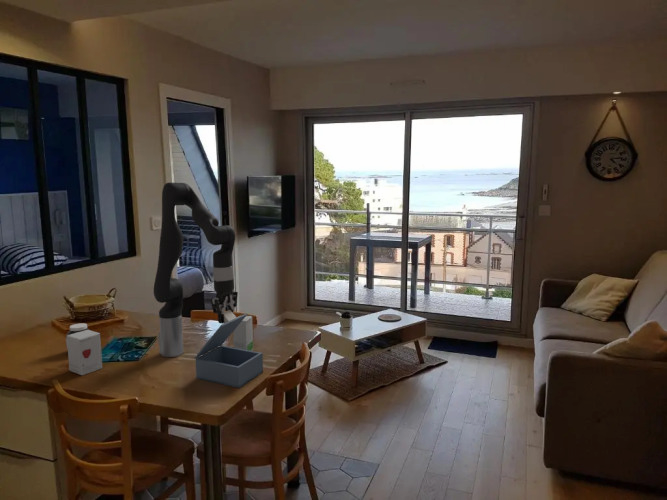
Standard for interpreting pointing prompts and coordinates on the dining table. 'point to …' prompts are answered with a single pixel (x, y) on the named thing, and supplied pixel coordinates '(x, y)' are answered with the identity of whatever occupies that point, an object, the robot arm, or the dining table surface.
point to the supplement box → (84, 352)
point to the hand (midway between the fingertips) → (226, 320)
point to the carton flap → (222, 332)
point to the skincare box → (244, 334)
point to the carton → (229, 366)
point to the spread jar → (76, 329)
